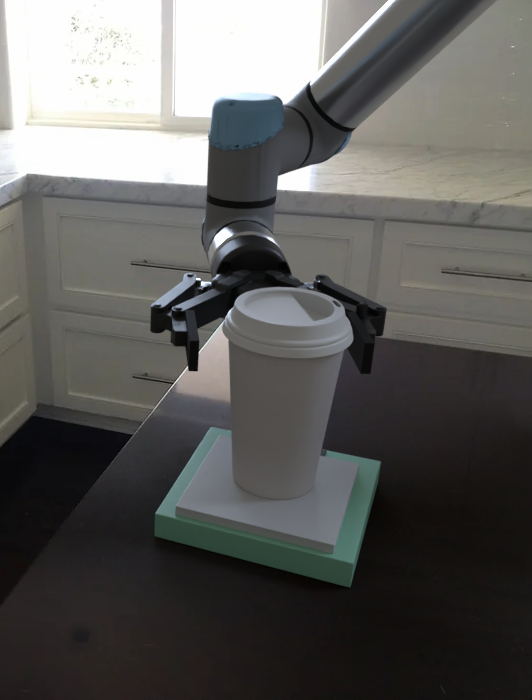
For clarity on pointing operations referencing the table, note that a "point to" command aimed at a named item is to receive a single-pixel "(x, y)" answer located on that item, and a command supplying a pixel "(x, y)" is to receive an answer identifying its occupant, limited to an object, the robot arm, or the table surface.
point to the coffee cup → (282, 385)
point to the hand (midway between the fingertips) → (280, 357)
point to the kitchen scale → (272, 513)
